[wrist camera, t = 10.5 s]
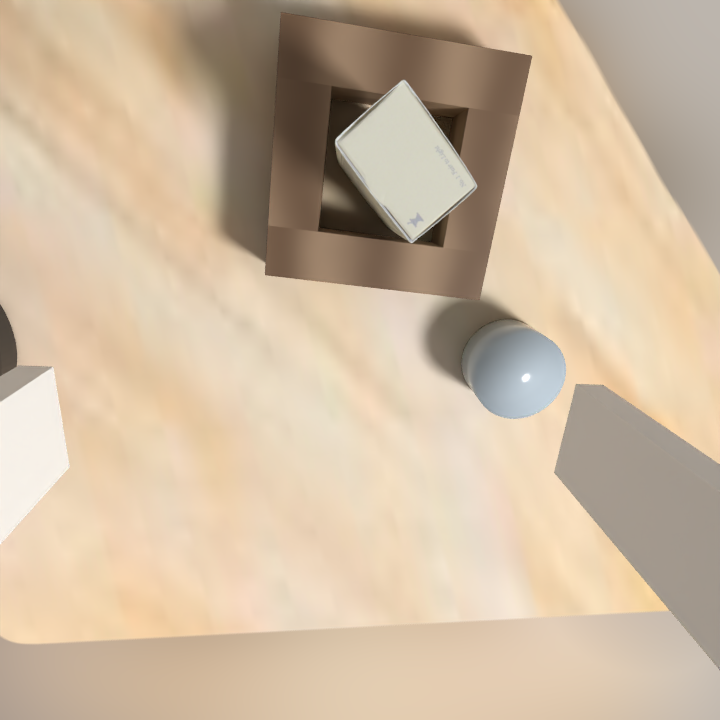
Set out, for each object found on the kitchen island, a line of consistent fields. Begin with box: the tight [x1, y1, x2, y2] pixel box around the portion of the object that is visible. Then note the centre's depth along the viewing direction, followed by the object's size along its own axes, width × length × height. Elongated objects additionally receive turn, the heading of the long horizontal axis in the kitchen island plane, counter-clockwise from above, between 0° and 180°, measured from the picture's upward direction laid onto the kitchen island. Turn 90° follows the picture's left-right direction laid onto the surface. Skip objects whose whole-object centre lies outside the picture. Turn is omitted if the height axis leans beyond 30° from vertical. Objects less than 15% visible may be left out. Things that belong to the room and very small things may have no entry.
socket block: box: [265, 12, 532, 300], centre depth 31 cm, size 15×15×4 cm
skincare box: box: [335, 80, 477, 243], centre depth 28 cm, size 6×4×12 cm
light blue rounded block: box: [461, 319, 566, 419], centre depth 37 cm, size 7×7×4 cm
